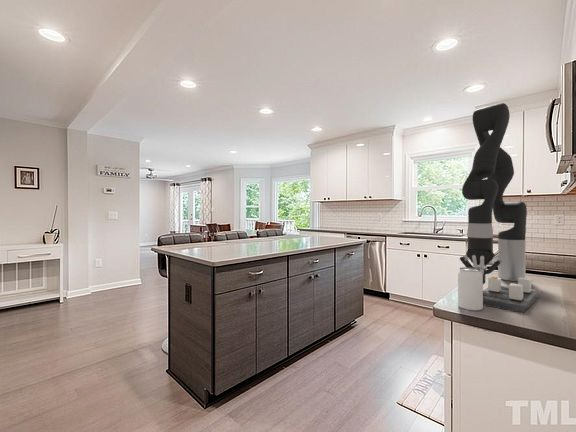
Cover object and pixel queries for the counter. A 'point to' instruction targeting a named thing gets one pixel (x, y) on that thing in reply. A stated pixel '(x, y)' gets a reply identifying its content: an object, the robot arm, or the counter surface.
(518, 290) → the block
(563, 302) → the counter surface
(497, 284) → the block
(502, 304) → the panel
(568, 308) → the counter surface
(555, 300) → the counter surface
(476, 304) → the can
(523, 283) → the block
